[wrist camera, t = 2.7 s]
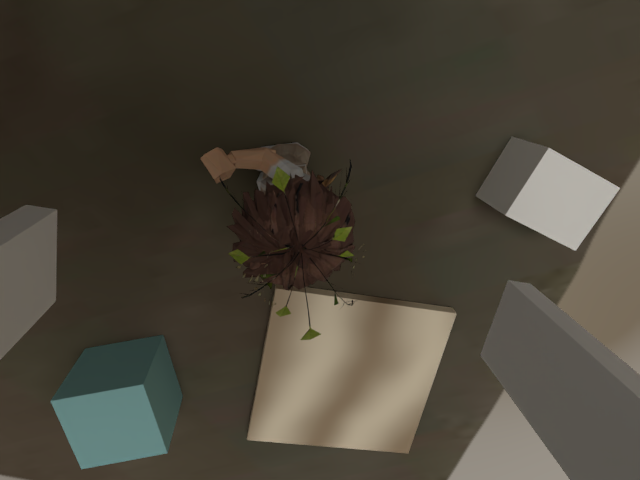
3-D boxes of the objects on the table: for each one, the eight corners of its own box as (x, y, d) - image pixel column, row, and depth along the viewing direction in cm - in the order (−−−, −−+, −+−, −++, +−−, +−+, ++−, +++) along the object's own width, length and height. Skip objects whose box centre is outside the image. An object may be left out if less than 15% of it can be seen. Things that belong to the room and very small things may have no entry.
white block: (474, 195, 28) (505, 215, 25) (510, 136, 27) (548, 147, 23) (537, 227, 29) (575, 250, 26) (574, 171, 28) (620, 187, 25)
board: (247, 431, 33) (246, 439, 32) (275, 282, 29) (275, 288, 28) (405, 445, 35) (408, 453, 34) (452, 307, 31) (456, 313, 30)
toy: (221, 122, 25) (159, 194, 11) (320, 111, 25) (378, 167, 12) (240, 228, 27) (208, 396, 14) (331, 216, 28) (390, 369, 14)
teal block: (109, 409, 31) (81, 469, 27) (85, 347, 29) (50, 401, 25) (182, 395, 31) (167, 453, 27) (163, 334, 30) (143, 384, 25)
